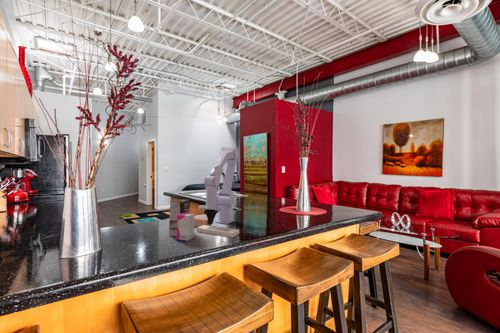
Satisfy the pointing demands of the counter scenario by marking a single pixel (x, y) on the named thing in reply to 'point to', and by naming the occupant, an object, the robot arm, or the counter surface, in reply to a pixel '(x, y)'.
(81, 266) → the counter surface
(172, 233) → the coffee box
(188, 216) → the supplement box
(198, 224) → the stub tab
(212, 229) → the ticket board
